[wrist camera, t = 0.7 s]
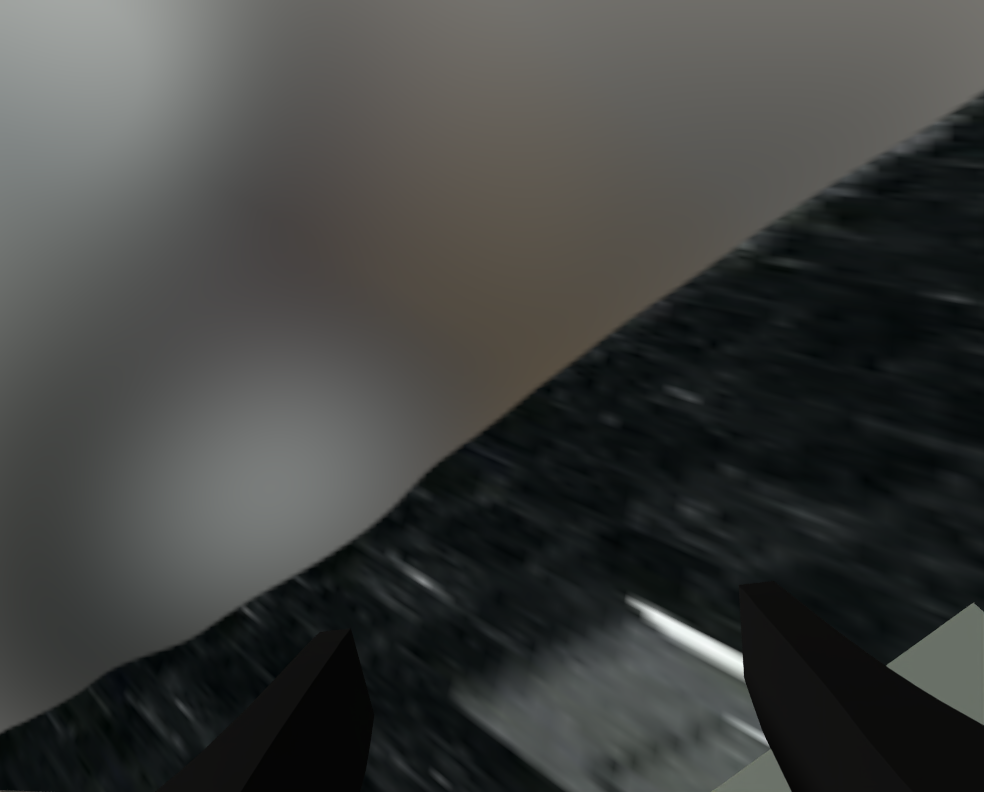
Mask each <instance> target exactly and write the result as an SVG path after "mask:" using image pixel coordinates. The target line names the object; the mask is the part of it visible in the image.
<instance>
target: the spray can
mask: <svg viewBox="0 0 984 792" xmlns="http://www.w3.org/2000/svg"><path fill="white" fill-rule="evenodd" d="M0 792H33V791H6V790H0Z"/></svg>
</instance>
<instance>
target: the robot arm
mask: <svg viewBox="0 0 984 792" xmlns="http://www.w3.org/2000/svg"><path fill="white" fill-rule="evenodd" d="M739 596H740V614H741V631H742V649H743V666H744V679H745V682H746V685H747V688H748V691H749V694H750V697H751V699H752V702H753V705H754V708H755V711H756V714H757V717H758V719H759V722H760V725H761V728H762V731H763V733H764V735H765V737H766V740H767V742H768V744H769V746H770V748H771V750H772V752H773V754H774V756H775V758H776V760H777V763H778V765H779V767H780V769H781V771H782V773H783V775H784V777H785V779H786V781H787V783H788V785H789V787H790V789H791V792H984V725H983V724H981V723H979V722H977V721H976V720H974V719H972V718H970V717H968V716H967V715H965V714H963V713H961V712H960V711H958V710H956V709H954V708H953V707H951V706H949V705H947V704H945V703H944V702H942V701H940V700H939V699H937V698H935V697H934V696H932V695H930V694H929V693H927V692H925V691H924V690H922V689H920V688H919V687H917V686H916V685H914V684H913V683H911V682H910V681H908V680H907V679H905V678H904V677H902V676H900V675H899V674H897V673H896V672H894V671H893V670H891V669H890V668H888V667H887V666H885V665H884V664H882V663H881V662H879V661H878V660H877V659H875V658H874V657H872V656H871V655H869V654H868V653H866V652H865V651H864V650H862V649H861V648H860V647H858V646H857V645H856V644H854V643H853V642H851V641H850V640H849V639H847V638H846V637H845V636H843V635H842V634H841V633H839V632H838V631H837V630H835V629H834V628H833V627H831V626H830V625H829V624H828V623H826V622H825V621H824V620H822V619H821V618H820V617H819V616H817V615H816V614H815V613H813V612H812V611H811V610H810V609H808V608H807V607H806V606H805V605H803V604H802V603H801V602H800V601H798V600H797V599H796V598H795V597H793V596H792V595H791V594H790V593H788V592H787V591H786V590H784V589H783V588H782V587H781V586H779V585H778V584H777V583H775V582H774V581H771V582H762V583H753V584H744V585H739ZM373 720H374V713H373V709H372V705H371V701H370V698H369V694H368V690H367V687H366V683H365V679H364V676H363V672H362V668H361V664H360V661H359V657H358V653H357V650H356V646H355V642H354V638H353V635H352V631H351V629H343V630H334V631H326V632H320V633H319V634H318V635H317V636H316V637H314V638H313V639H312V640H311V641H310V642H309V644H308V645H307V646H306V647H305V648H304V649H303V650H302V651H301V652H300V653H299V654H298V655H297V656H296V657H295V658H294V659H293V660H292V662H291V663H290V664H289V665H288V666H287V667H286V668H285V669H284V670H283V671H282V672H281V673H280V674H279V675H278V677H277V678H276V679H275V680H274V681H273V682H272V683H271V684H270V685H269V686H268V687H267V688H266V689H265V690H264V691H263V692H262V693H261V694H260V695H259V696H258V697H257V699H256V700H255V701H254V702H253V703H252V704H251V705H250V706H249V707H248V708H247V709H246V710H245V711H244V712H243V713H242V714H241V715H240V716H239V717H238V718H237V719H236V720H235V721H234V722H233V723H231V724H230V725H229V726H228V727H227V728H226V729H225V730H224V731H223V732H222V733H221V734H220V735H219V736H218V737H217V738H216V739H215V740H214V741H213V742H212V743H211V744H210V745H209V746H208V747H207V748H206V749H205V750H203V751H202V752H201V753H200V754H199V755H198V756H197V757H196V758H195V759H194V760H192V761H191V762H190V763H189V764H188V765H187V766H186V767H184V768H183V769H182V770H181V771H180V772H179V773H177V774H176V775H175V776H174V777H173V778H171V779H170V780H169V781H168V782H167V783H165V784H164V785H163V786H162V787H161V788H159V789H158V790H157V791H156V792H360V790H361V786H362V782H363V778H364V775H365V771H366V766H367V760H368V754H369V748H370V741H371V734H372V727H373Z"/></svg>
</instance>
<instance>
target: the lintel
mask: <svg viewBox="0 0 984 792" xmlns="http://www.w3.org/2000/svg"><path fill="white" fill-rule="evenodd" d="M887 667H888V668H890V669H891V670H893V671H894V672H896V673H897V674H899V675H900V676H902V677H904V678H905V679H907V680H908V681H910V682H911V683H913V684H914V685H916V686H917V687H919V688H920V689H922V690H924V691H925V692H927V693H929V694H930V695H932V696H934V697H935V698H937V699H939V700H940V701H942V702H944V703H945V704H947V705H949V706H951V707H953V708H954V709H956V710H958V711H960V712H961V713H963V714H965V715H967V716H968V717H970V718H972V719H974V720H976V721H977V722H979V723H981V724H983V725H984V612H983V611H982V610H981V609H980V608H979V607H977V606H976V605H975V604H974V603H972V604H971V605H970V606H968V607H967V608H966V609H964V610H963V611H961V612H960V613H959V614H957V615H956V616H954V617H953V618H952V619H950V620H949V621H947V622H946V623H945V624H943V625H942V626H941V627H939V628H938V629H936V630H935V631H934V632H932V633H931V634H929V635H928V636H927V637H925V638H924V639H923V640H921V641H920V642H918V643H917V644H916V645H914V646H913V647H911V648H910V649H909V650H907V651H906V652H905V653H903V654H902V655H900V656H899V657H898V658H896V659H895V660H893V661H892V662H891V663H889V664H888V665H887ZM712 792H791V789H790V787H789V785H788V783H787V781H786V779H785V777H784V775H783V773H782V771H781V769H780V767H779V765H778V763H777V760H776V758H775V756H774V754H773V752H772V750H771V749H770V750H769V751H767V752H766V753H765V754H763V755H762V756H760V757H759V758H758V759H756V760H755V761H753V762H752V763H751V764H749V765H748V766H747V767H745V768H744V769H742V770H741V771H740V772H738V773H737V774H735V775H734V776H733V777H731V778H730V779H729V780H727V781H726V782H724V783H723V784H722V785H720V786H719V787H717V788H716V789H715V790H713V791H712Z"/></svg>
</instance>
